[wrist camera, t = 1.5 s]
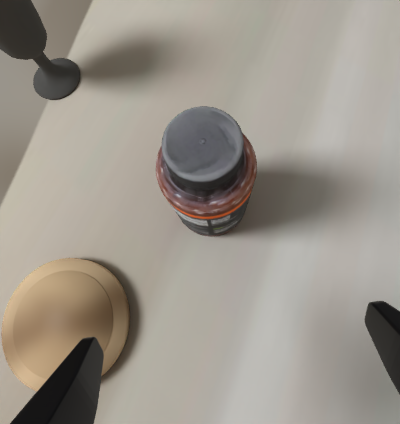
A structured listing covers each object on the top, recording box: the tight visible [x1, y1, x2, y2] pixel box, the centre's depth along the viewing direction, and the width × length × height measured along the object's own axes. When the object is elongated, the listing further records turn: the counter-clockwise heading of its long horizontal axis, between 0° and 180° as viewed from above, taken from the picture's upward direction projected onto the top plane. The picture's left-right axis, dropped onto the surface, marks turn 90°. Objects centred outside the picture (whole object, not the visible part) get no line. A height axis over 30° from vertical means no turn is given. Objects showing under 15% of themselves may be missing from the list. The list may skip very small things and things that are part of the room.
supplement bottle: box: [156, 106, 257, 236], centre depth 18 cm, size 6×6×11 cm
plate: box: [2, 258, 130, 391], centre depth 22 cm, size 10×10×1 cm
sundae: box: [0, 0, 80, 100], centre depth 21 cm, size 7×7×15 cm
